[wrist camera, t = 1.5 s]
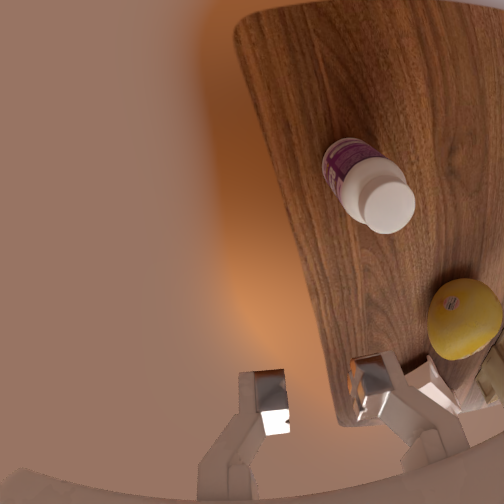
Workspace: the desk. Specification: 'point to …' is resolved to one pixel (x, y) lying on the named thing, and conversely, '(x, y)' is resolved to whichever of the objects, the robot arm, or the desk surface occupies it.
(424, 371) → the toy truck
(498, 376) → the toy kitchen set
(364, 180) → the pill bottle
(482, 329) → the fruit
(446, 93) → the desk surface
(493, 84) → the desk surface
